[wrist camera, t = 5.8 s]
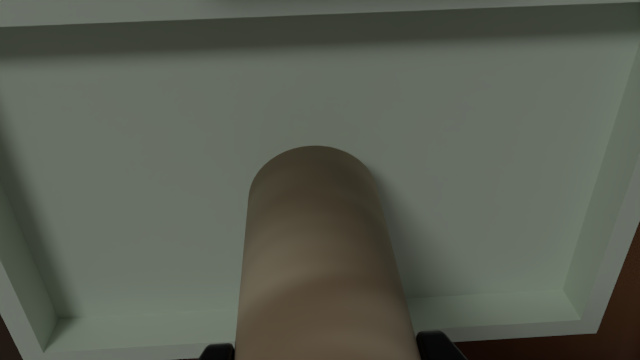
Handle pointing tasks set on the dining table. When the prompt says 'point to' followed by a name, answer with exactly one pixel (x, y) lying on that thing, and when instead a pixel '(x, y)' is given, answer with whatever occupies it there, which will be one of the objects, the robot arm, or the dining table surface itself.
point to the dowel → (319, 265)
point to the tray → (311, 130)
